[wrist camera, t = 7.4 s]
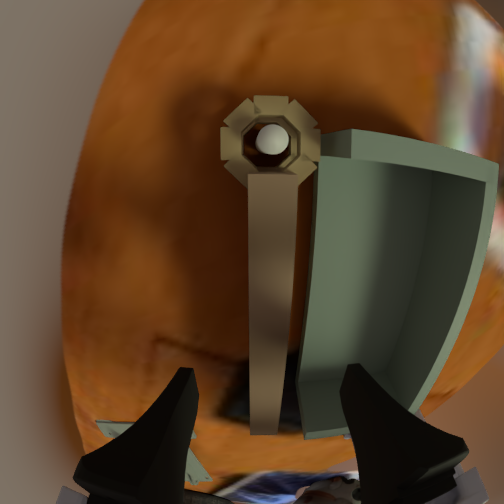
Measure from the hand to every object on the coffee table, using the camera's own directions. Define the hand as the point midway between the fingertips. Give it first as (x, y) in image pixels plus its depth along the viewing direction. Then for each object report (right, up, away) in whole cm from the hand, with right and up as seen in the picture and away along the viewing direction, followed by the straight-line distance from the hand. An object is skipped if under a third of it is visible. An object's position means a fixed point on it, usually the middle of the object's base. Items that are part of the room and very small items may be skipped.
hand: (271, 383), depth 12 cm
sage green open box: (+6, +4, +7) cm, 10 cm away
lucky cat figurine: (+12, -39, +24) cm, 47 cm away
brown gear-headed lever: (0, +5, +7) cm, 8 cm away
